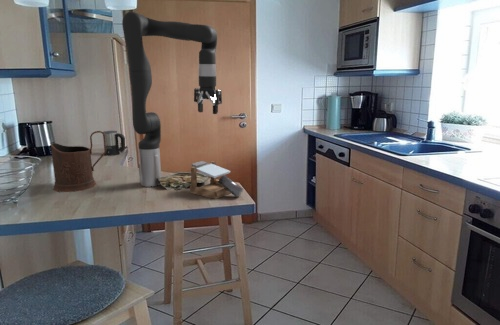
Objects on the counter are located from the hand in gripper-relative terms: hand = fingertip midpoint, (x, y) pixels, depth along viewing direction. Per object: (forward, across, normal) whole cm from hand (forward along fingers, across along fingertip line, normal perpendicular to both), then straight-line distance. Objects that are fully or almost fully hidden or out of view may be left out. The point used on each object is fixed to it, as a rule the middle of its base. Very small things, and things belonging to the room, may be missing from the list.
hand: (207, 113), depth 165 cm
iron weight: (+26, -14, +6) cm, 30 cm away
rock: (+34, +10, +6) cm, 36 cm away
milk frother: (+38, +100, -19) cm, 109 cm away
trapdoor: (+25, -6, +6) cm, 26 cm away
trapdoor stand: (+33, -8, +6) cm, 34 cm away
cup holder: (+35, +48, +34) cm, 68 cm away
